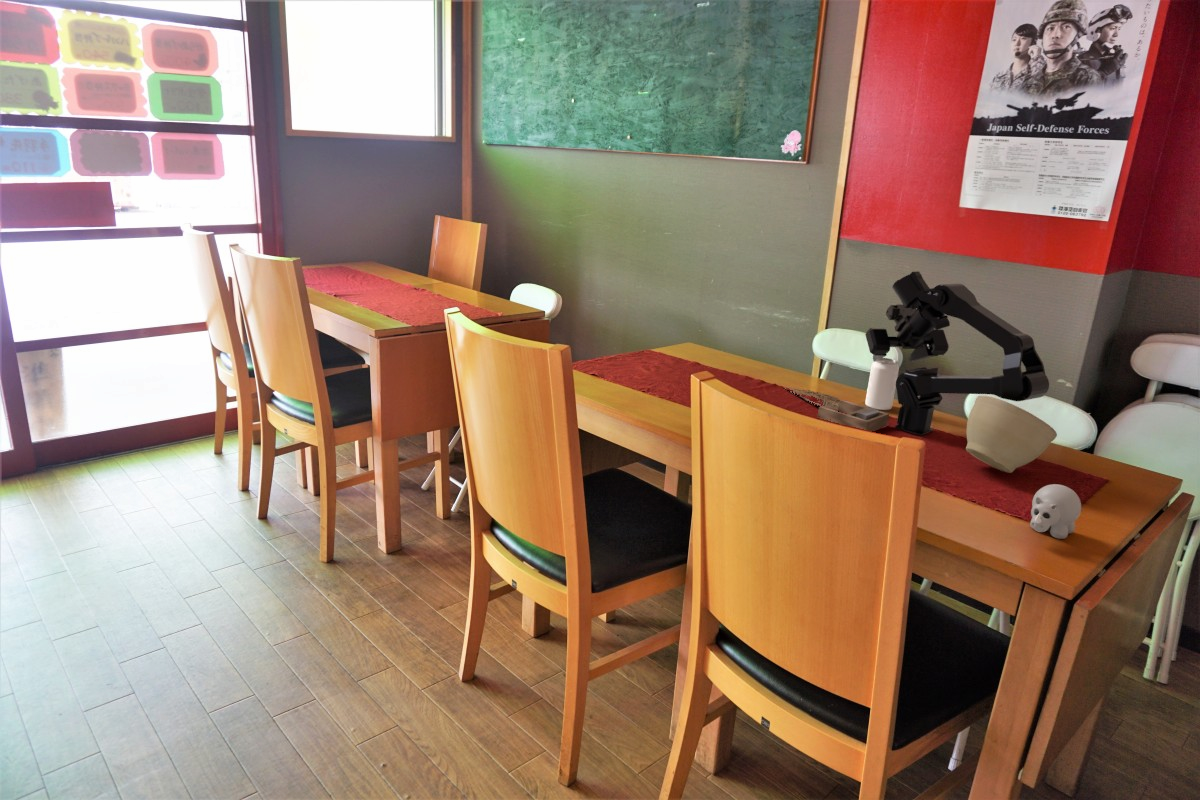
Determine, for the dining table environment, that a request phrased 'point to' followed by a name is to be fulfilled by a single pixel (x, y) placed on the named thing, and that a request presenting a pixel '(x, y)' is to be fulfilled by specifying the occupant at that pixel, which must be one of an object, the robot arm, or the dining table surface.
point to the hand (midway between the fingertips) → (891, 360)
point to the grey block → (867, 414)
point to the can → (882, 384)
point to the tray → (853, 416)
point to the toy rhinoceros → (1055, 510)
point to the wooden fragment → (827, 400)
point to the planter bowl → (1005, 434)
